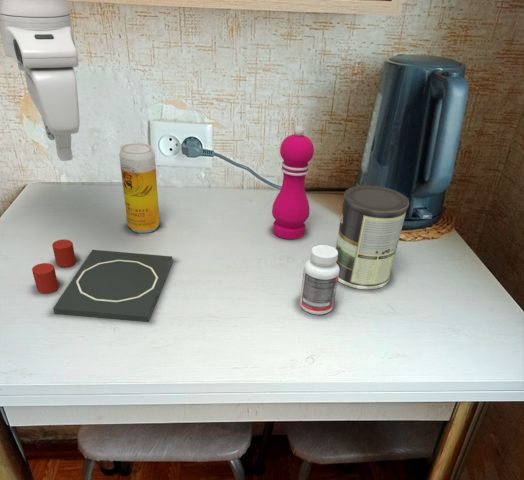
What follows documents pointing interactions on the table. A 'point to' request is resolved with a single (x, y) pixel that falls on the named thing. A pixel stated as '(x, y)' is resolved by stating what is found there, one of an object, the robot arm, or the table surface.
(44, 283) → the dot
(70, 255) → the red cylinder
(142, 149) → the beer can
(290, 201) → the pepper mill
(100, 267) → the slate board
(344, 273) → the coffee can
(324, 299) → the pill bottle
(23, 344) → the table surface
